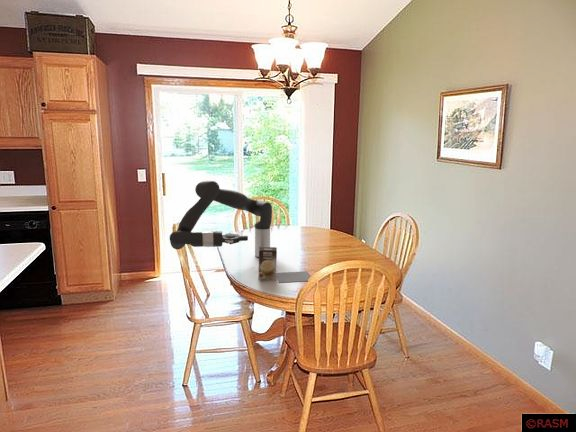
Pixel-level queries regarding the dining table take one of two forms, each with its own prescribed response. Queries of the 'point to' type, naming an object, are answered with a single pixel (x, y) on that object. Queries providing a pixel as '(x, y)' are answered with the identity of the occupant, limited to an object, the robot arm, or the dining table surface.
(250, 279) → the dining table surface
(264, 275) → the coffee box
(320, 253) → the dining table surface
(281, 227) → the dining table surface
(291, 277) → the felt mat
